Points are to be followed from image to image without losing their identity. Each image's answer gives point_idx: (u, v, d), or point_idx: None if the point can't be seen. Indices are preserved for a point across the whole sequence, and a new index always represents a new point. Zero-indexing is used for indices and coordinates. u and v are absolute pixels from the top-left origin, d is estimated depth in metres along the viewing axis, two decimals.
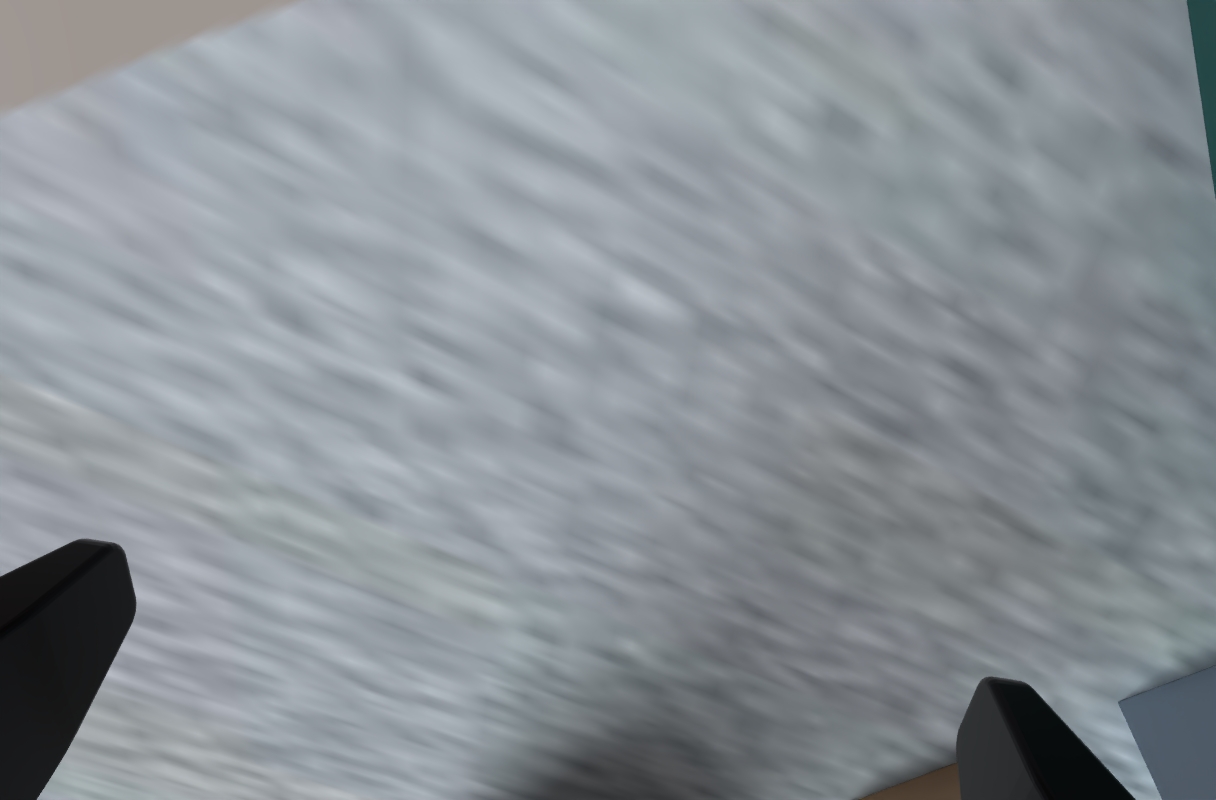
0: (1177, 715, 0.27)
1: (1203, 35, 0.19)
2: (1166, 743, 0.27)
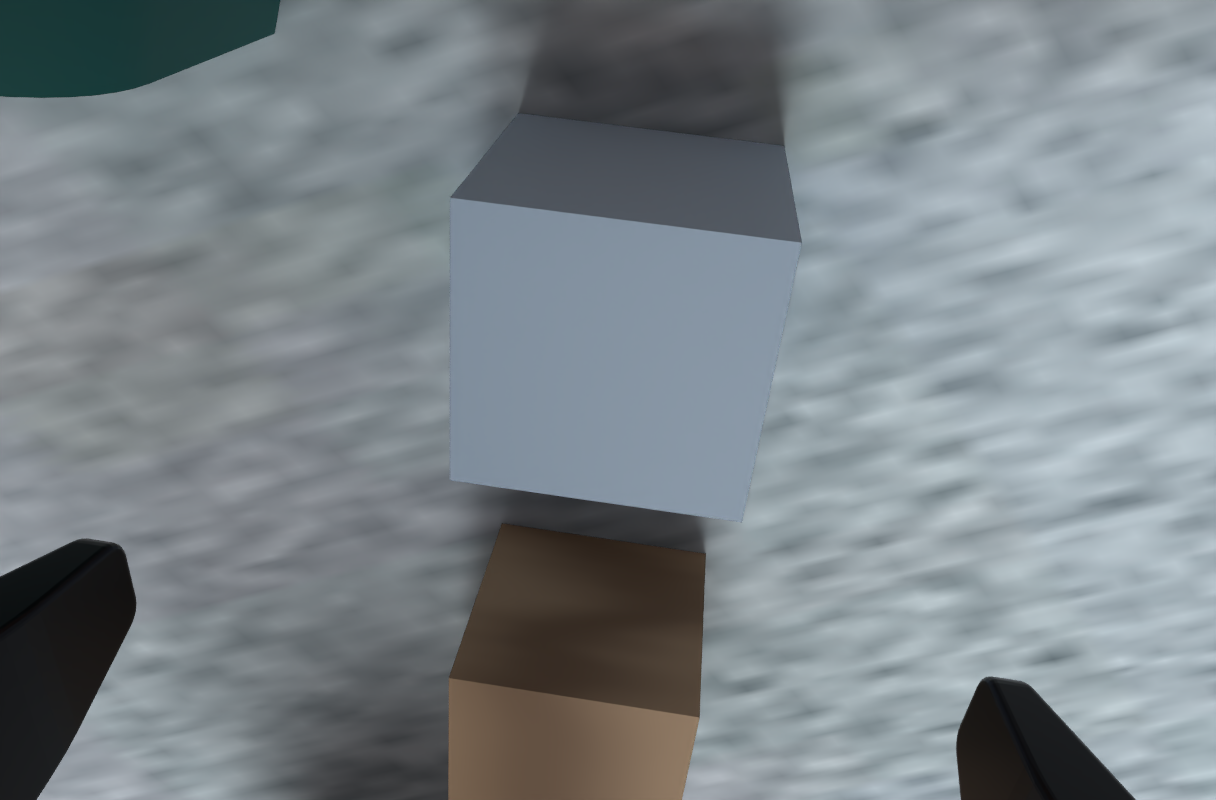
0: None
1: None
2: None
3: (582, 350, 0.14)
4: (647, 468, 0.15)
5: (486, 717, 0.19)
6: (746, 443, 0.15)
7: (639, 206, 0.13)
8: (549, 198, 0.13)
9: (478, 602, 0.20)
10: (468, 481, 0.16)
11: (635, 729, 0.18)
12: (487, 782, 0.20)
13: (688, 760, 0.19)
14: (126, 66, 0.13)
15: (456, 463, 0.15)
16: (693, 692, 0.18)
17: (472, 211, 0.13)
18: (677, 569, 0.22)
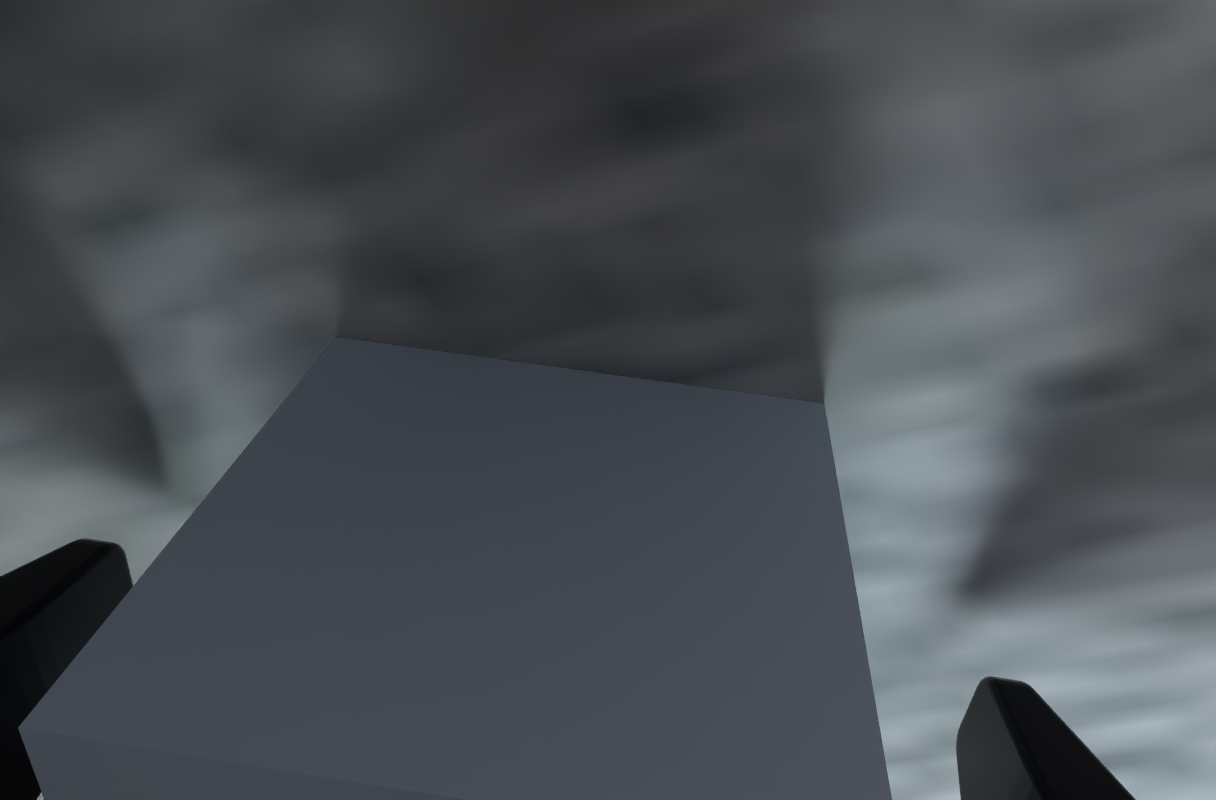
0: None
1: None
2: None
3: None
4: None
5: None
6: None
7: (501, 708, 0.06)
8: (284, 695, 0.06)
9: None
10: None
11: None
12: None
13: None
14: None
15: None
16: None
17: (79, 754, 0.05)
18: None
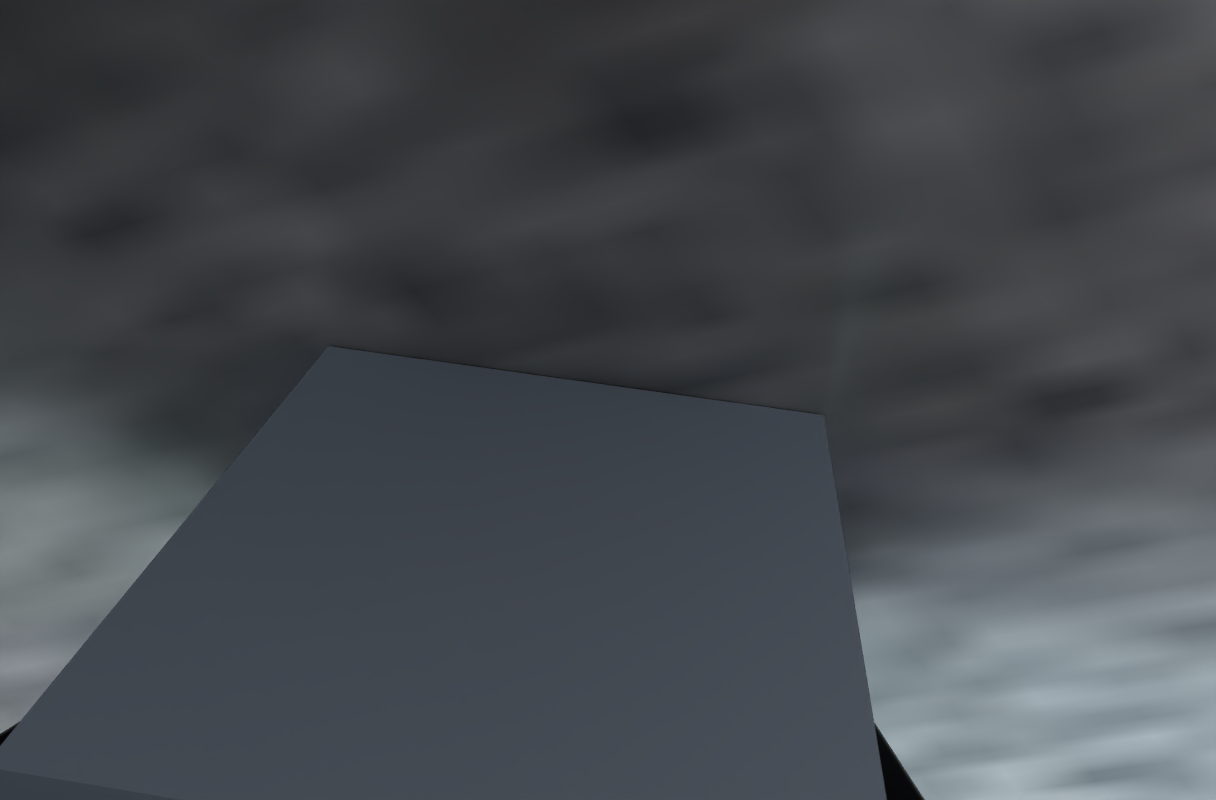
0: None
1: None
2: None
3: None
4: None
5: None
6: None
7: (489, 745, 0.05)
8: (261, 731, 0.05)
9: None
10: None
11: None
12: None
13: None
14: None
15: None
16: None
17: (48, 793, 0.05)
18: None
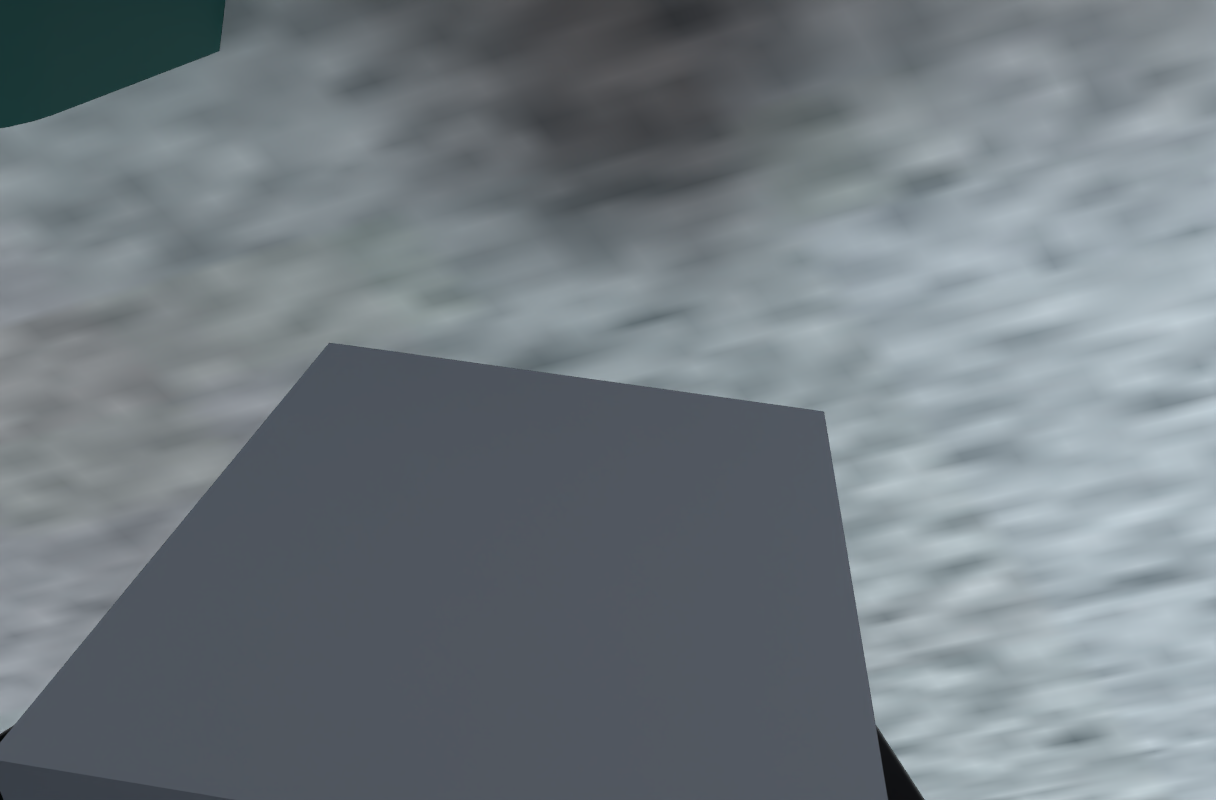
0: None
1: None
2: None
3: None
4: None
5: None
6: None
7: (489, 737, 0.05)
8: (264, 724, 0.05)
9: None
10: None
11: None
12: None
13: None
14: (19, 96, 0.11)
15: None
16: None
17: (51, 785, 0.05)
18: None
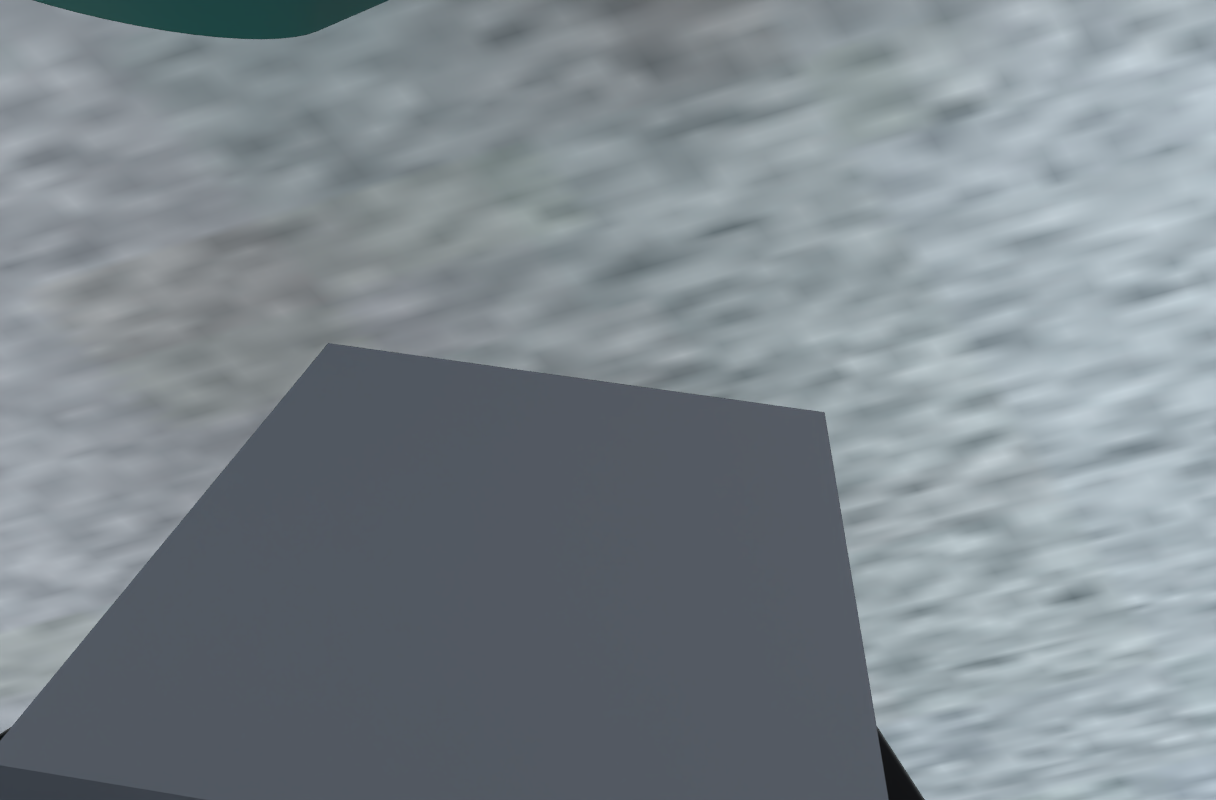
0: None
1: None
2: None
3: None
4: None
5: None
6: None
7: (489, 741, 0.05)
8: (262, 728, 0.05)
9: None
10: None
11: None
12: None
13: None
14: (303, 13, 0.15)
15: None
16: None
17: (47, 789, 0.05)
18: None
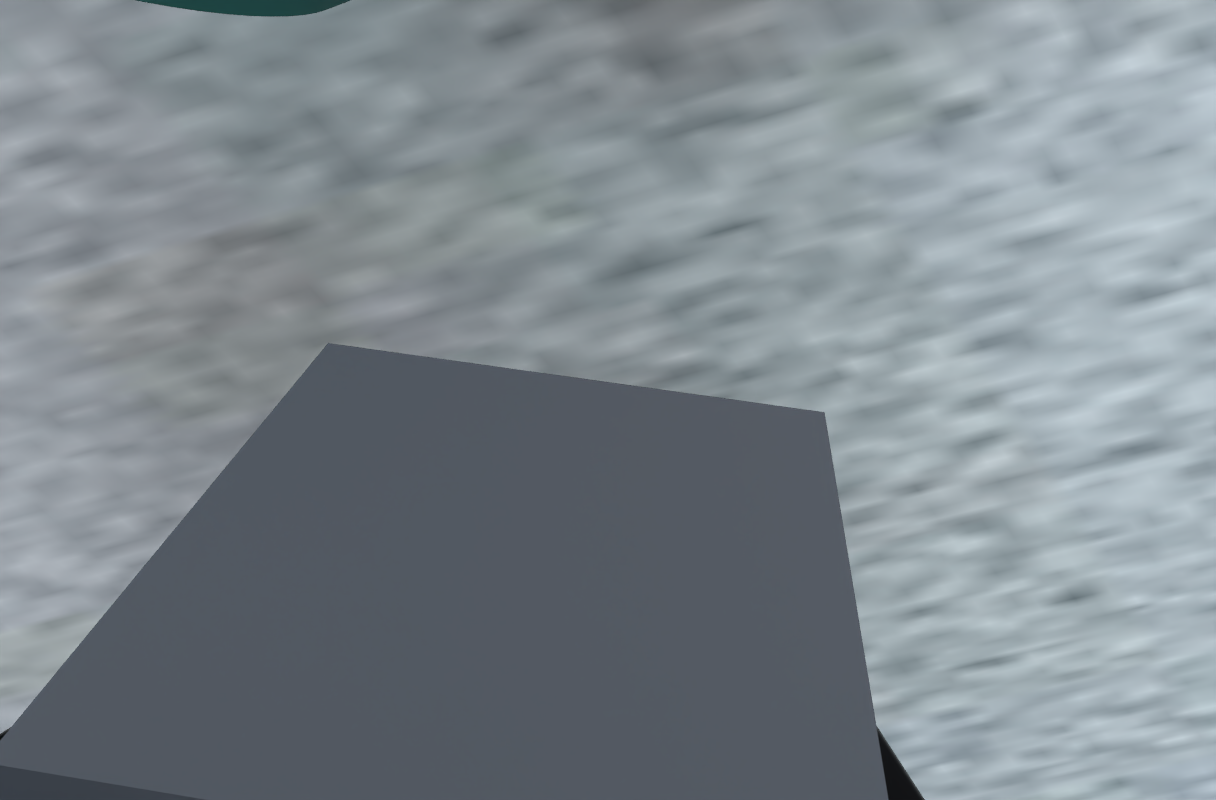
0: None
1: None
2: None
3: None
4: None
5: None
6: None
7: (489, 741, 0.05)
8: (262, 728, 0.05)
9: None
10: None
11: None
12: None
13: None
14: None
15: None
16: None
17: (47, 789, 0.05)
18: None
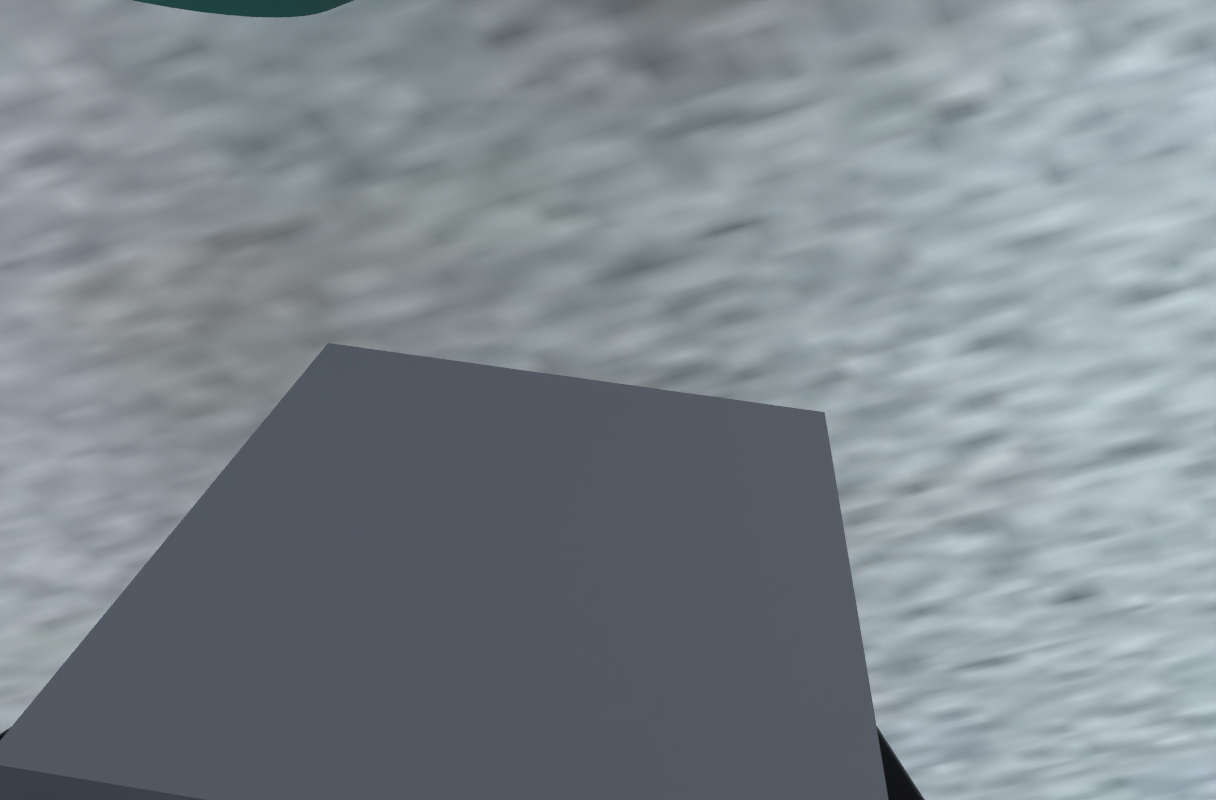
0: None
1: None
2: None
3: None
4: None
5: None
6: None
7: (489, 741, 0.05)
8: (262, 726, 0.05)
9: None
10: None
11: None
12: None
13: None
14: None
15: None
16: None
17: (47, 789, 0.05)
18: None
